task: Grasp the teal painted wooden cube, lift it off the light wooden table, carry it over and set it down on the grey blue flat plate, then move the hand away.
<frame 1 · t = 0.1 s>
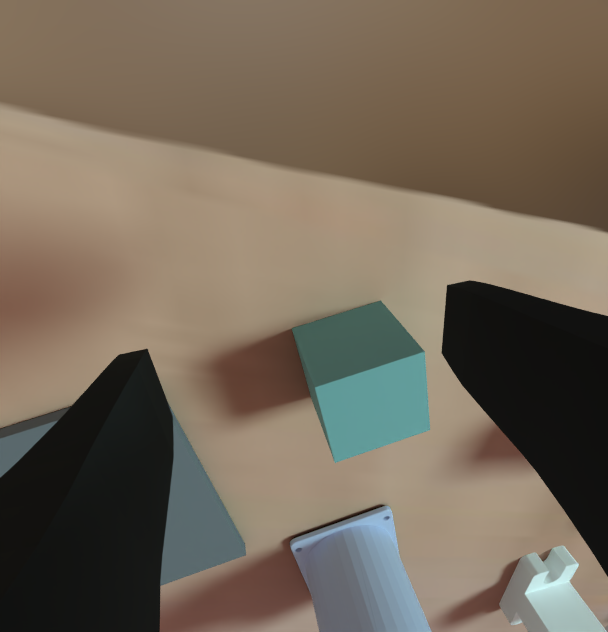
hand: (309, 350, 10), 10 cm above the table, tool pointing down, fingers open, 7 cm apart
cube: (343, 350, 23), on the table
grey blue flat plate: (95, 513, 24), on the table
cable organizer: (528, 574, 43), on the table
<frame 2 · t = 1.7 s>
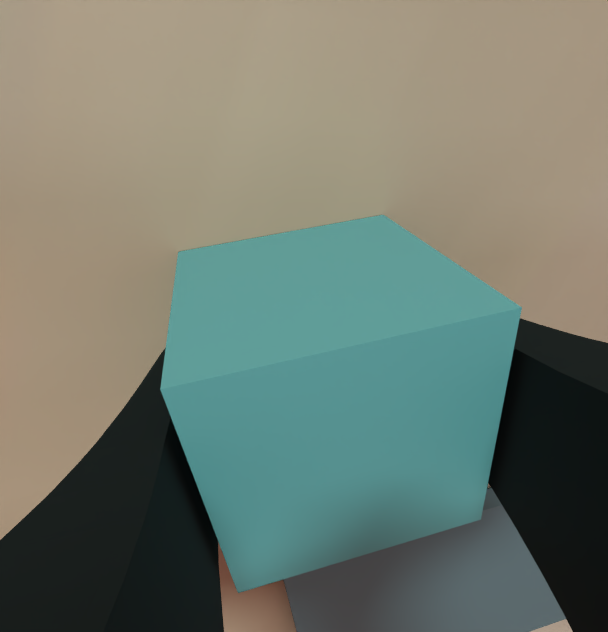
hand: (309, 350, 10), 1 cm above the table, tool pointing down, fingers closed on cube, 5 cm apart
cube: (296, 321, 11), on the table, touching gripper
grey blue flat plate: (452, 582, 20), on the table
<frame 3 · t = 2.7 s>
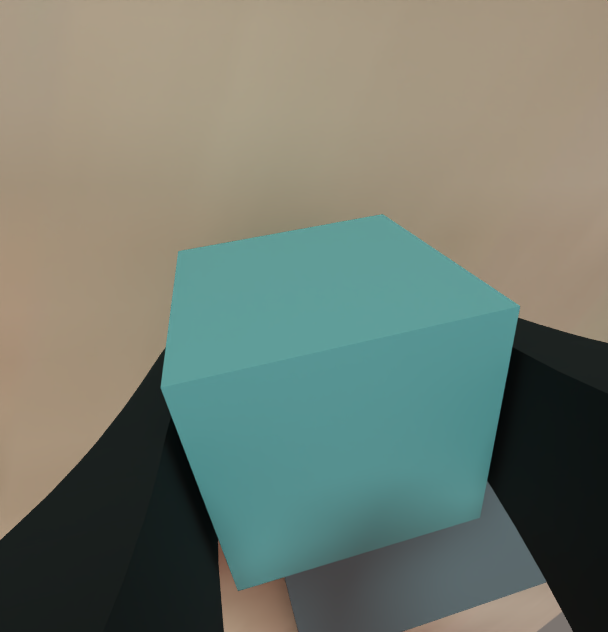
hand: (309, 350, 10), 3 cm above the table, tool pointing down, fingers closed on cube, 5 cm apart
cube: (296, 320, 11), point 2 cm above the table, touching gripper
grey blue flat plate: (431, 545, 22), on the table
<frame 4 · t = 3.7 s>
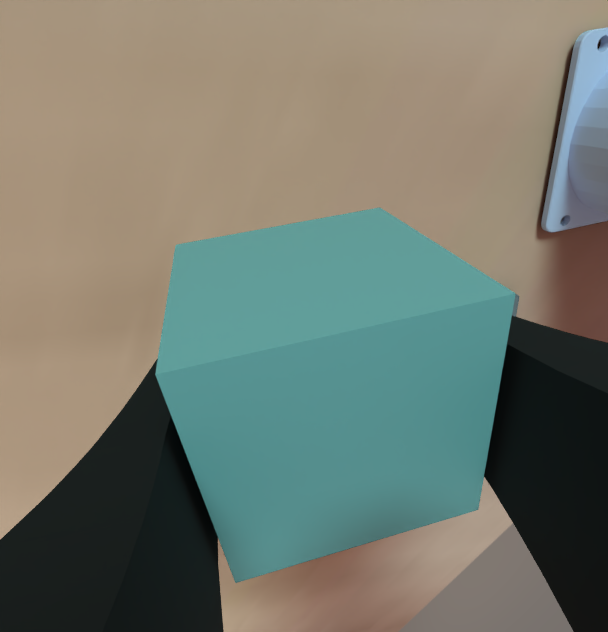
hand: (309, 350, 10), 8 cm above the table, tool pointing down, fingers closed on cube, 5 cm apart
cube: (294, 315, 11), point 7 cm above the table, touching gripper
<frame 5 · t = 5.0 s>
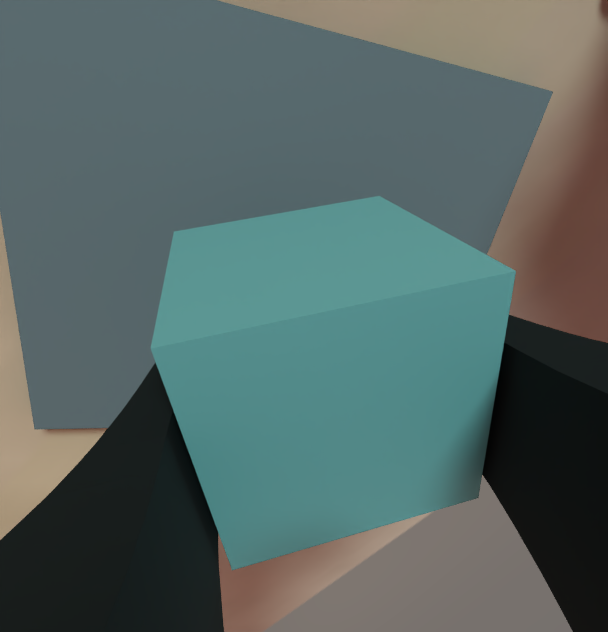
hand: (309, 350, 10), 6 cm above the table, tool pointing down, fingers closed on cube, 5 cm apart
cube: (293, 304, 11), point 4 cm above the table, touching gripper
grey blue flat plate: (273, 262, 14), on the table
when the fingers open (3 cm above the table, at t = 5.9 s): cube stays where it is, resting on grey blue flat plate.
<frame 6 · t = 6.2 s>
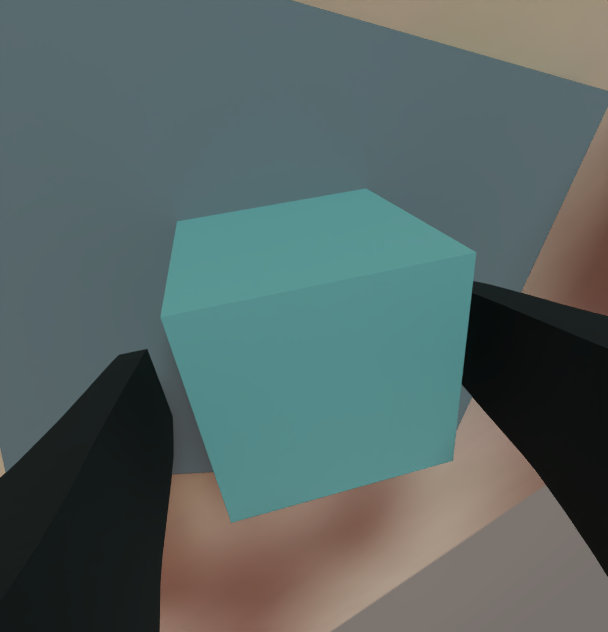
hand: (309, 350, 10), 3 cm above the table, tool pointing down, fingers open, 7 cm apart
cube: (287, 290, 12), point 1 cm above the table, touching grey blue flat plate
grey blue flat plate: (283, 290, 13), on the table
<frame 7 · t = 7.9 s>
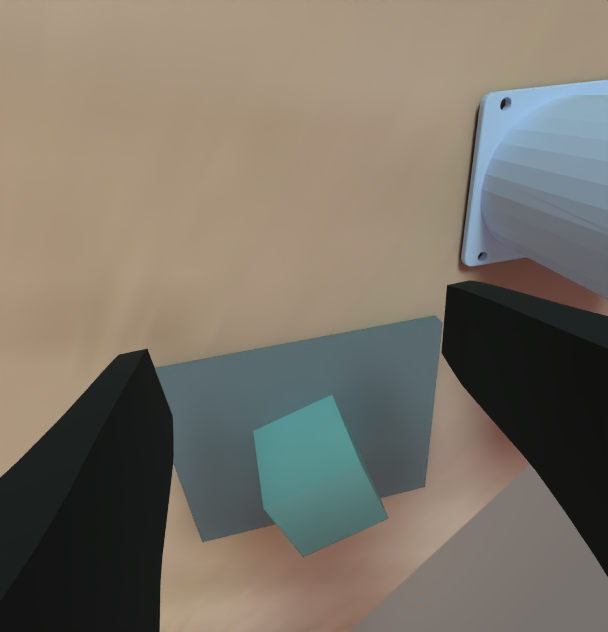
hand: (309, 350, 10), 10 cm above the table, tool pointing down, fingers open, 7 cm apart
cube: (308, 439, 24), point 1 cm above the table, touching grey blue flat plate
grey blue flat plate: (307, 433, 25), on the table
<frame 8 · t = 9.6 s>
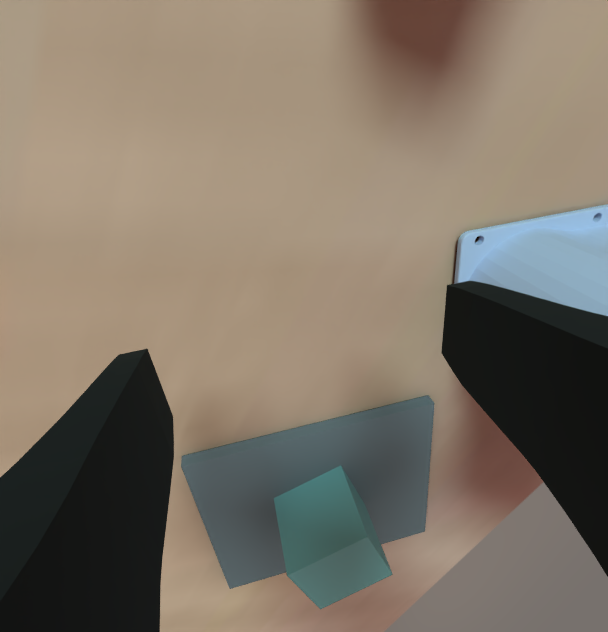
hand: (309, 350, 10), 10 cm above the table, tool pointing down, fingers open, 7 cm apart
cube: (321, 501, 28), point 1 cm above the table, touching grey blue flat plate
grey blue flat plate: (320, 494, 29), on the table
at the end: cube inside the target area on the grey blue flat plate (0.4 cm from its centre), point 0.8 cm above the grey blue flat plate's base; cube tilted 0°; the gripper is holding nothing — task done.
